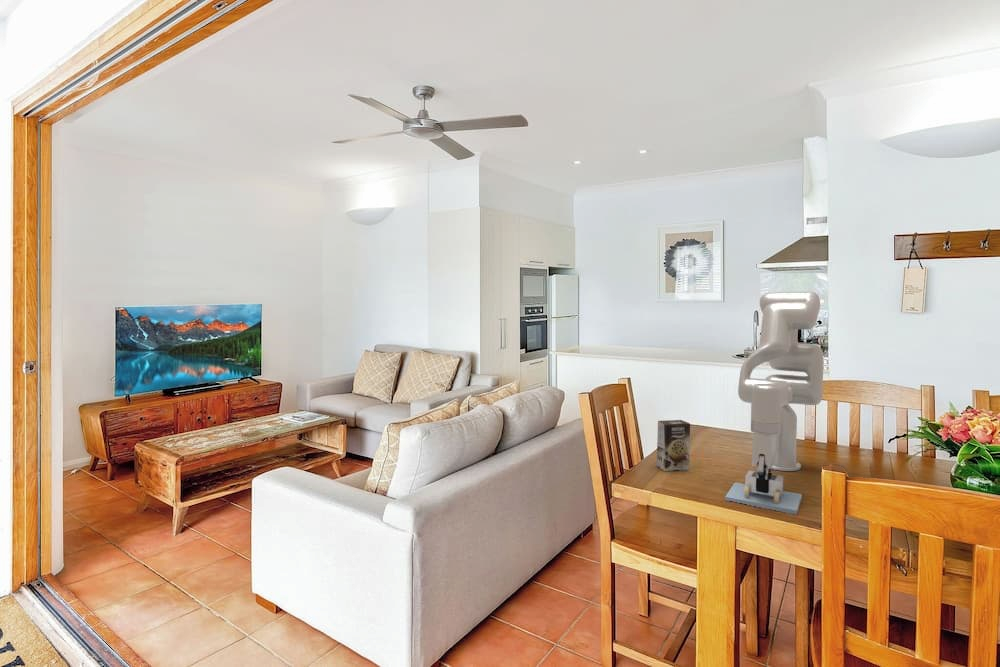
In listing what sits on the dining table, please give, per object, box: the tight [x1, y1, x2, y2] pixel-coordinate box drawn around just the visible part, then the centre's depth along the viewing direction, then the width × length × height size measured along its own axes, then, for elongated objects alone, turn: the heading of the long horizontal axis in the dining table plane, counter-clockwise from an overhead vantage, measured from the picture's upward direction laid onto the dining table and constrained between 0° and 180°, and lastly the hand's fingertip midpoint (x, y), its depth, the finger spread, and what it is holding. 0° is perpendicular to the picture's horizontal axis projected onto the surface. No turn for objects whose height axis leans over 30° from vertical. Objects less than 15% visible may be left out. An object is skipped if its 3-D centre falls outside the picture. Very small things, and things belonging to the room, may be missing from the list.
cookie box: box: [656, 419, 691, 472], centre depth 179 cm, size 9×6×16 cm
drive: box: [744, 470, 784, 497], centre depth 151 cm, size 6×9×5 cm, turn 55°
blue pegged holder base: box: [724, 482, 803, 516], centre depth 151 cm, size 14×18×4 cm
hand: (763, 488), depth 151 cm, fingers closed on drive, 5 cm apart
